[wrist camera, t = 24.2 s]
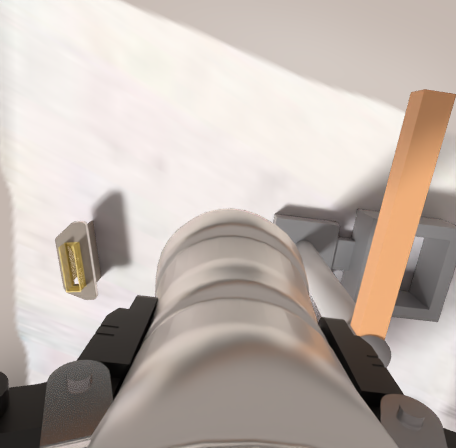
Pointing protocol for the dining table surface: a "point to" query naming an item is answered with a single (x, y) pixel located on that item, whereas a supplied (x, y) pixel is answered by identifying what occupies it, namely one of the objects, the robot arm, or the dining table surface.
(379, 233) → the slender peach stick
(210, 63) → the dining table surface
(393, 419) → the robot arm
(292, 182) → the dining table surface
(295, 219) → the plug dock
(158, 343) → the plastic bottle
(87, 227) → the platform
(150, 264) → the dining table surface
